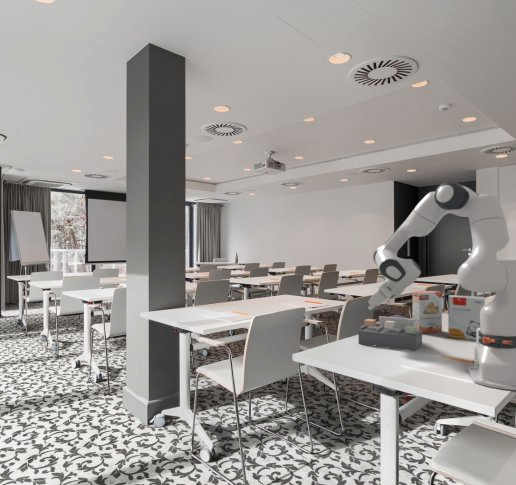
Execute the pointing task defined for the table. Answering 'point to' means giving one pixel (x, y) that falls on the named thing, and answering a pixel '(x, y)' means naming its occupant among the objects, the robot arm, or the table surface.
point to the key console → (391, 335)
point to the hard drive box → (464, 316)
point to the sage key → (411, 329)
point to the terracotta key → (369, 322)
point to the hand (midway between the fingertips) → (369, 308)
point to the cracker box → (427, 311)
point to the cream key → (390, 324)
